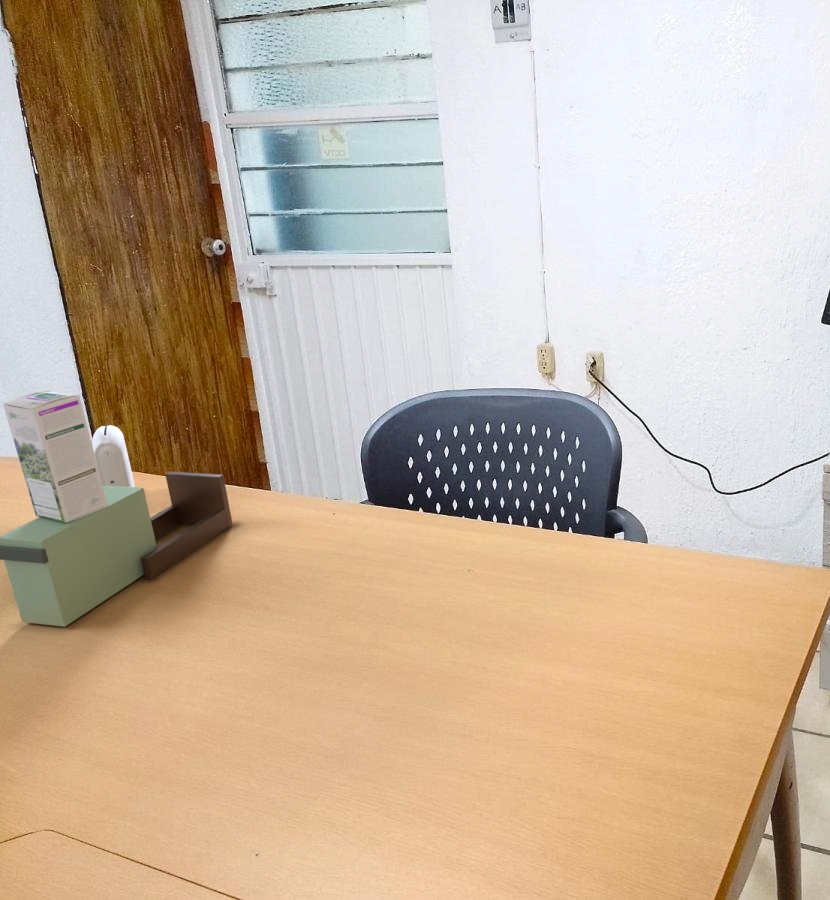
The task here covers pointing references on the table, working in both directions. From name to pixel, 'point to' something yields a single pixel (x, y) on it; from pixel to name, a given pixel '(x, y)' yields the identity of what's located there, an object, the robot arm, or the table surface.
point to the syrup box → (56, 455)
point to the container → (78, 558)
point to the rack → (188, 518)
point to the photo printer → (112, 457)
